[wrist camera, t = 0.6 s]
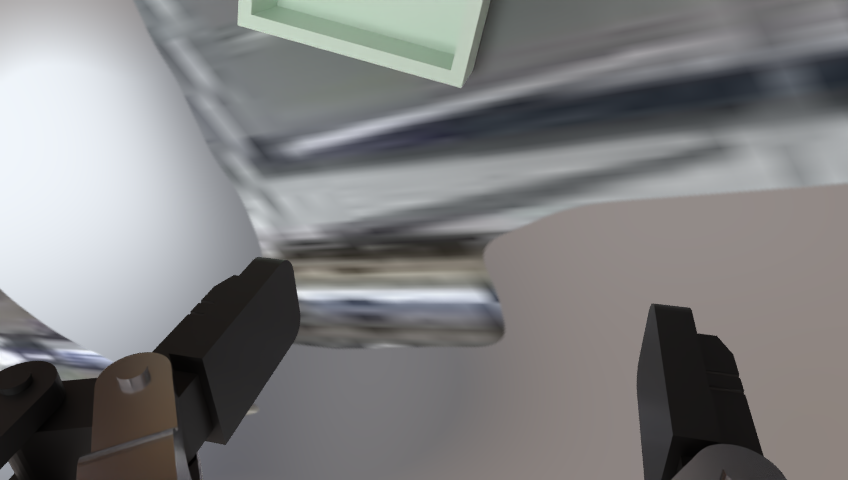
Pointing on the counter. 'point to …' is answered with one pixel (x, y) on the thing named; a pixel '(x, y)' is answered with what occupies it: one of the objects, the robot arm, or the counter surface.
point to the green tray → (381, 31)
